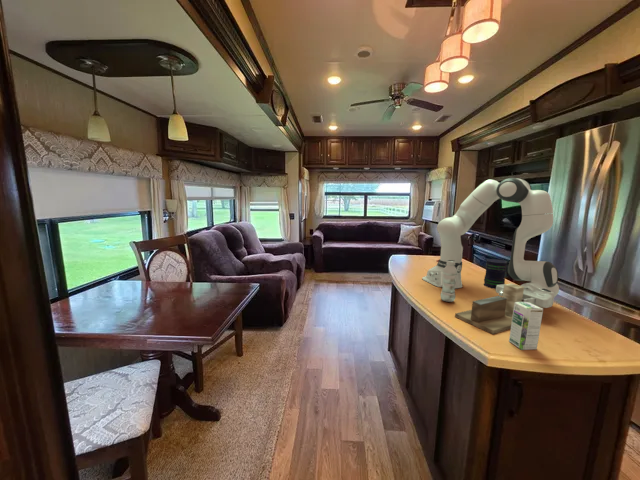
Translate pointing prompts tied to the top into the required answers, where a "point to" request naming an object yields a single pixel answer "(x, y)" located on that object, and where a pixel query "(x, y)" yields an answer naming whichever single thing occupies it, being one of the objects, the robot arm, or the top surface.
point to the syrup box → (525, 325)
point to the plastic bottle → (449, 282)
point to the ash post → (512, 297)
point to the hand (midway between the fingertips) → (511, 297)
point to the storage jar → (495, 273)
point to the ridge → (488, 315)
